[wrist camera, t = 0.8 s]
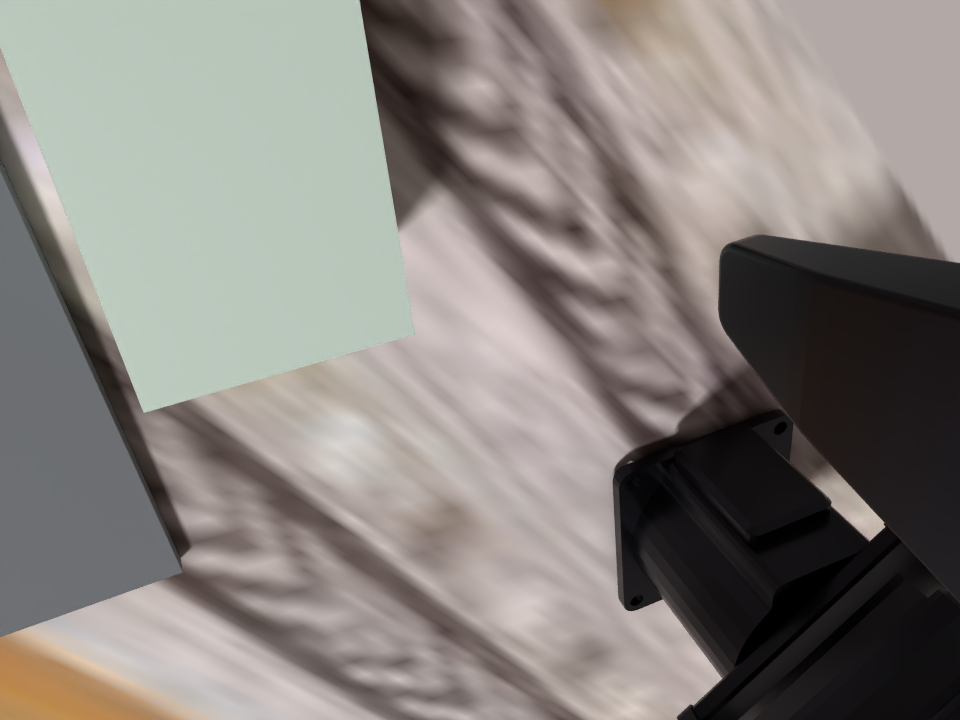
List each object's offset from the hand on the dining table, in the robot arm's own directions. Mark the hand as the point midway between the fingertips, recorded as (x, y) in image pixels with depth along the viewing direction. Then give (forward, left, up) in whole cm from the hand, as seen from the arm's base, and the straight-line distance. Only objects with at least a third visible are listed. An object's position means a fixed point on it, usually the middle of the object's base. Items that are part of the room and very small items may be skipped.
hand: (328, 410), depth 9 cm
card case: (0, 0, -12) cm, 12 cm away
